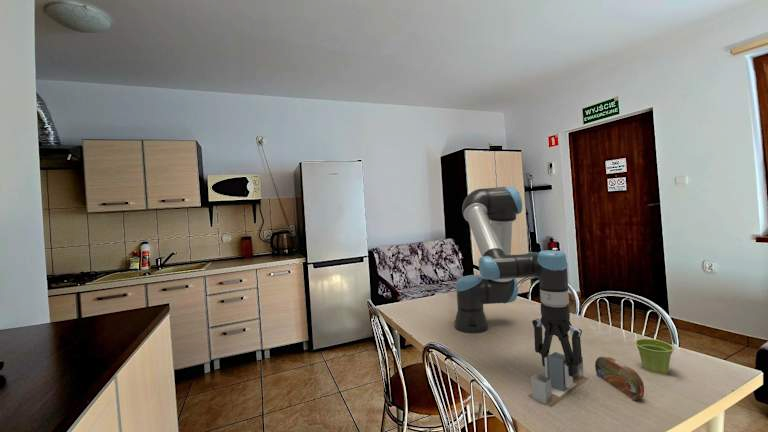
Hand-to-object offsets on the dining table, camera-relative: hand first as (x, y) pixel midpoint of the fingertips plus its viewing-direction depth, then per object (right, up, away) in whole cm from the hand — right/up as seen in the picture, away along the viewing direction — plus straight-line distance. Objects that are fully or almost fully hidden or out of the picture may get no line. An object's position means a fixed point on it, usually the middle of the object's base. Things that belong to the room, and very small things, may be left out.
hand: (558, 381), depth 95 cm
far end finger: (+8, -1, +5) cm, 10 cm away
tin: (+16, -2, -2) cm, 17 cm away
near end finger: (-8, -2, -5) cm, 10 cm away
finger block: (0, -1, 0) cm, 1 cm away
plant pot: (+34, -1, +7) cm, 35 cm away
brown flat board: (0, -3, 0) cm, 3 cm away
